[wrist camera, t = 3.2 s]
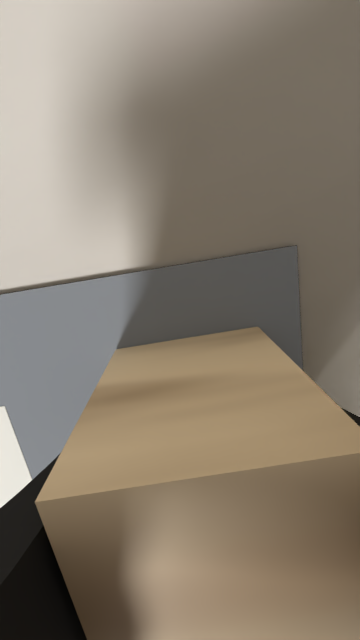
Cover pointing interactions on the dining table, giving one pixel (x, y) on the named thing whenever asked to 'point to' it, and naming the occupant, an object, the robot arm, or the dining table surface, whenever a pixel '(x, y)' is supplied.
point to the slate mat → (122, 339)
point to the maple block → (209, 498)
